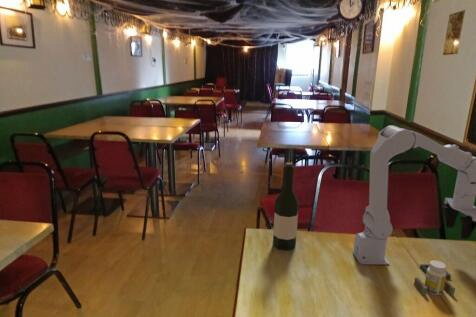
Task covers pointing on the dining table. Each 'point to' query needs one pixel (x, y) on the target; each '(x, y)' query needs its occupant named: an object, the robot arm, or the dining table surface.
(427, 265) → the dark gray rectangular tray
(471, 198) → the robot arm
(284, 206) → the wine bottle
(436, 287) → the supplement bottle
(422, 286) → the channel
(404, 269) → the dining table surface
